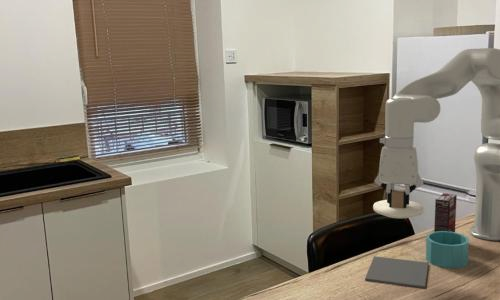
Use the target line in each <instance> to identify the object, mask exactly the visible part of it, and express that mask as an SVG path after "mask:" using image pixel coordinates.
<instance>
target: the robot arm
mask: <svg viewBox="0 0 500 300" xmlns="http://www.w3.org/2000/svg"><path fill="white" fill-rule="evenodd" d="M469 82H472V83H473V84H474V85H475V87H476V88H477V89H478V91H479V93H480V95H481V114H480V115H481V117H480V118H481V119H480V133H481V135H482V136H483V137H484V138H485V139H488V140H493V141H500V48H495V47H494V48H493V47H488V48H487V47H486V48H483V47H482V48H467V49H464V50H462V51H460V52H458V53H457V54H456V55H455V56H454V57H453V58H451V59H449V61H448V62H446V63H445V64H444V65H443V66H442V67H441V68H439V70H437V71H435V72H433V73H430V74H428V75H425V76H423V77H421V78H419V79H416V80H414V81H412V82H410V83H408V84H407V85H404V87H402V88H401V89H400V90H398V92H397V93H395V95H394V96H393V97H391V98H388V99H387V100H386V102H385V107H384V108H385V112H384V115H385V119H384V121H385V122H384V123H385V126H384V129H385V130H384V134H385V135H384V137H380V138H379V143H380V144H384V146H382V147H381V151H380V159H379V171H378V174H377V176H376V177H375V179H374V181H373V182H374V183H375V184H377V186H380V187H381V188H382V189H383V190H384V191H385V193H386V200H387V203H389V207H392V191H393V188H392V187H393V185H404V190H405V192H404V204H403V208H406V206H407V205H409V201H410V194H411V193H412V192H413V191H415V190H416V189H418V188H420V187H422V186H423V185H424V181H423V179H422V178H421V176H420V174H419V165H418V164H419V163H418V153H417V148H416V147H415V146H414V134H415V131H414V129H415V123H430V122H433V121H435V120H436V119H437V118H438V117H439V115H440V114H441V103H440V102H439V99H443V98H448V97H452V96H454V95H456V94H458V93H459V92H460V91H462V89H463V88H464V87H466V86H467V85H468V84H469ZM473 155H474V156H473V159H474V166H475V173H476V175H475V176H476V182H475V183H476V185H475V187H476V188H475V207H474V208H475V209H474V210H475V211H474V212H475V214H474V225H472V226H471V227H469V234H470V235H471V236H473V237H475V238H478V239H481V240H486V241H494V242H495V241H500V143H495V142H487V143H486V142H485V143H482V144H480V145H478V146H477V148H476V149H475V151H474V154H473Z"/></svg>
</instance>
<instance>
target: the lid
mask: <svg viewBox="0 0 500 300" xmlns="http://www.w3.org/2000/svg"><path fill="white" fill-rule="evenodd" d="M404 192H405V189H397V188H396V189H395V188H394V189H393V188H392V207H389V203H387V199H384V200H379V201H376V202H374V204H373V206H372V209H373V211H374V212H375V213H377V214H378V215H382V216H385V217H388V218H392V219H409V218H413V217H419V216H420V215H422V214H423V213H424V206H423V205H422V204H421V203H419V202H417V201H412V200H409V205H407V206H406V208H403V204H404Z"/></svg>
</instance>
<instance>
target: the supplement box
mask: <svg viewBox="0 0 500 300" xmlns="http://www.w3.org/2000/svg"><path fill="white" fill-rule="evenodd" d="M457 200H458V199H457V194H453V193H444V192H443V193H442V194H441V195H439V196H438V197H437V198H435V201H434V203H435V206H434V227H433V228H434V229H433V232H437V231H448V232H455V233H456V223H457V222H456V220H457V219H456V217H457Z"/></svg>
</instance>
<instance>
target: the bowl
mask: <svg viewBox="0 0 500 300" xmlns="http://www.w3.org/2000/svg"><path fill="white" fill-rule="evenodd" d="M425 239H426V240H425V241H426V242H425V244H426V245H425V247H426V248H425V249H426V250H425V260H426V262H428V264H429V263H430V265H434V266H436V267H439V268H445V269H458V268H460V269H461V268H464V267H466V266H467V265H469V251H470V250H469V245H470V244H469V243H470V238H469V237H467V236H466V235H465V234H463V233H458V232H456V231H455V232H448V231H437V232H434V231H432V232H429V233H427V234H426V238H425Z"/></svg>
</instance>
